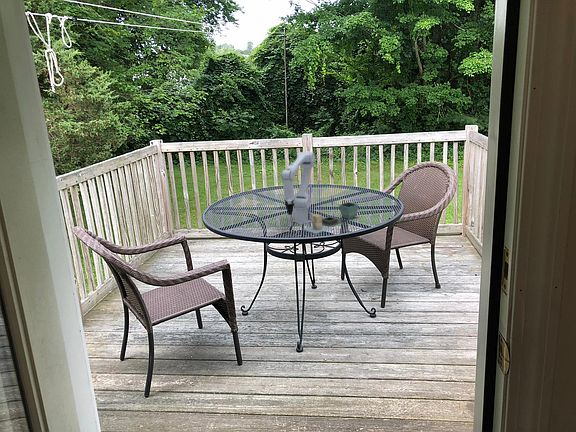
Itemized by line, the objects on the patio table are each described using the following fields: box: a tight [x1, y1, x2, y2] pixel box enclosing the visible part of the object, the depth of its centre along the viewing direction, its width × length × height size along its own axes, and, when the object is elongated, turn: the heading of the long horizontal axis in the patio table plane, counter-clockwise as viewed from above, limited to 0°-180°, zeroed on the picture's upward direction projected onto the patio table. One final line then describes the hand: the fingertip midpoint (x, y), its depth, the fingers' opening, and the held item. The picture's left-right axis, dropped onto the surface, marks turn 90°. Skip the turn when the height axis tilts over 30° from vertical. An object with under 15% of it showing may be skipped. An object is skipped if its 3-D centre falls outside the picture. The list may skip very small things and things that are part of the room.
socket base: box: [322, 216, 348, 228], centre depth 284 cm, size 16×16×2 cm
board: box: [302, 225, 332, 235], centre depth 272 cm, size 12×12×1 cm
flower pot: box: [338, 201, 359, 220], centre depth 289 cm, size 9×9×9 cm
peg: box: [311, 213, 323, 230], centre depth 271 cm, size 4×4×8 cm
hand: (289, 212), depth 272 cm, fingers open, 7 cm apart
